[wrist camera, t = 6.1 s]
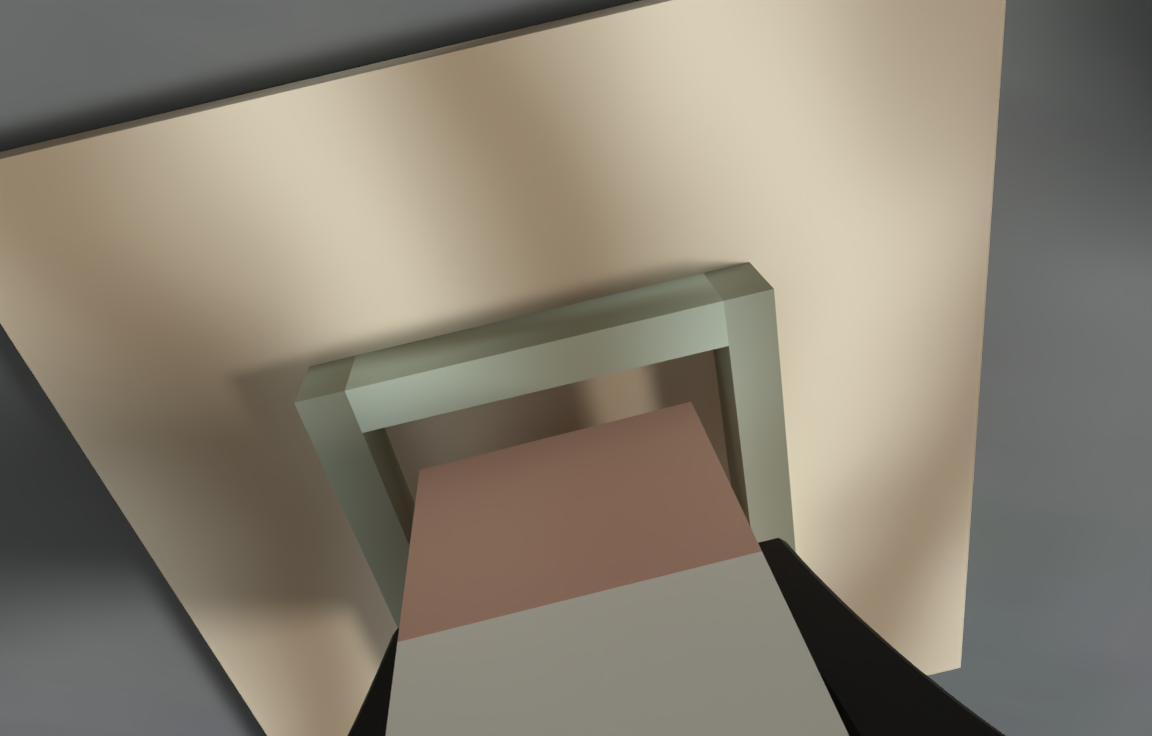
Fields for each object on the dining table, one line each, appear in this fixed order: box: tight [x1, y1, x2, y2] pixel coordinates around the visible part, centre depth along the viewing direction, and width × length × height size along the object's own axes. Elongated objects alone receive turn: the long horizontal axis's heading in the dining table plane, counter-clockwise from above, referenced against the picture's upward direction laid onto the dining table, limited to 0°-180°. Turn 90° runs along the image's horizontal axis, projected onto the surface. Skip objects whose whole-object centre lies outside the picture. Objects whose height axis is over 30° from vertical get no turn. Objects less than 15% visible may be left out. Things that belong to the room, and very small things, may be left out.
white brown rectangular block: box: [385, 402, 849, 736], centre depth 10 cm, size 4×4×7 cm
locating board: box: [0, 0, 1006, 736], centre depth 14 cm, size 16×16×2 cm
